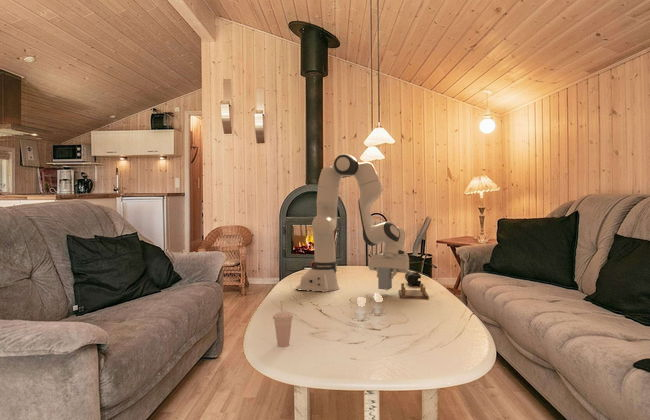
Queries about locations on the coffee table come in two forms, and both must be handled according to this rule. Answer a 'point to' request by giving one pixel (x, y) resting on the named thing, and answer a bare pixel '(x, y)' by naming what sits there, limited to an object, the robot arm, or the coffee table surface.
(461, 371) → the coffee table surface
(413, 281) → the end cap
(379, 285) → the slate block
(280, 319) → the smoothie
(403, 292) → the stand
